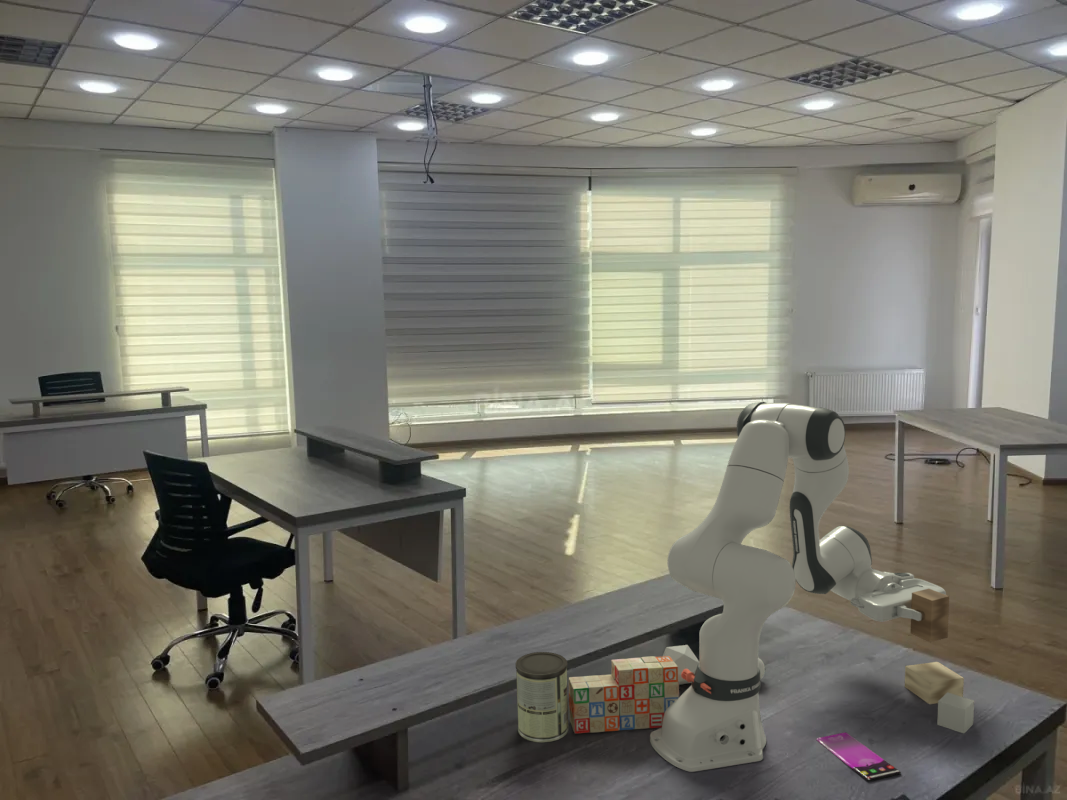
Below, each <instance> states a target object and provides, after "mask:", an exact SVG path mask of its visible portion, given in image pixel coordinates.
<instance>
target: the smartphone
mask: <svg viewBox="0 0 1067 800" xmlns="http://www.w3.org/2000/svg"><path fill="white" fill-rule="evenodd" d="M816 741H817V742H818V743H819V744H820V745H822V747H824V748H825V749H827V751H829V752H830V753H831V754H833V755H834V756H835V757H836V758H838V759H839V760H840V761H841V762H842V763H844V764H845V765H846V766H848V767H849V768H850V769H851V770H853V772H855V773H856V774H858V775H859V776H860V777H861V778H863V779H864V780H866V781H867V782H872V781H873V782H874V781H876V780H881V779H884V778H889V777H894V776H898V775H901V773H902V771H900V770H898V769H897V768H896V767H895V766H893V765H892V764H890V763H889V762H887V761H886V760H885V759H884V758H882V757H881V756H879V755H878V754H877V753H875V752H874V751H873V750H871V749H870V748H868V747H867V746H866V745H864V744H863V743H862V742H861V741H858V740H857V739H856V738H854V737H853V736H852V735H850V734H849V733H848V732H839V733H834V734H831V735H826V736H821V737H817V738H816Z"/></svg>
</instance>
